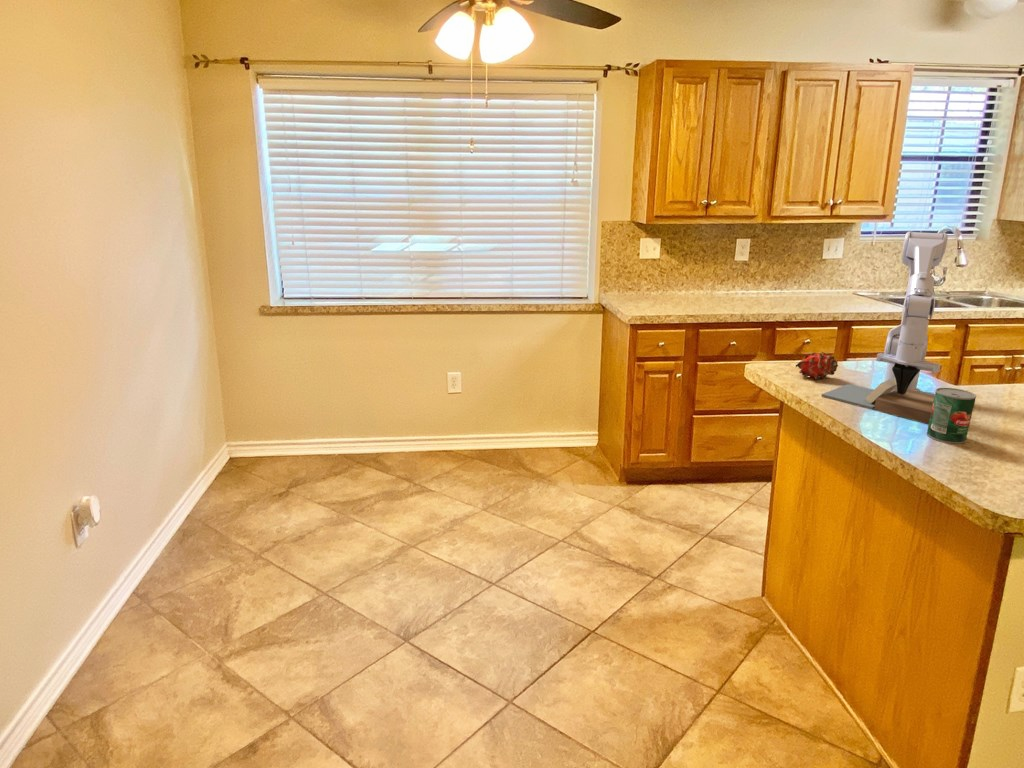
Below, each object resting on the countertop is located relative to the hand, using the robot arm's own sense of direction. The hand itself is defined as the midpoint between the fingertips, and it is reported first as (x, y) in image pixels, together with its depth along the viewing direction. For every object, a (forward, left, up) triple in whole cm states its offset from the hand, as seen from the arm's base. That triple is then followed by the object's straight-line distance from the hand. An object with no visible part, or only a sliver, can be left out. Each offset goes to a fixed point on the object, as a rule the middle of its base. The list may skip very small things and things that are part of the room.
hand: (901, 393), depth 175 cm
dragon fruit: (-9, -27, -4) cm, 29 cm away
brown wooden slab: (-1, +4, -4) cm, 6 cm away
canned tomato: (+14, +16, -4) cm, 21 cm away
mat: (-1, -10, -4) cm, 11 cm away
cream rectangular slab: (0, -4, 0) cm, 5 cm away
